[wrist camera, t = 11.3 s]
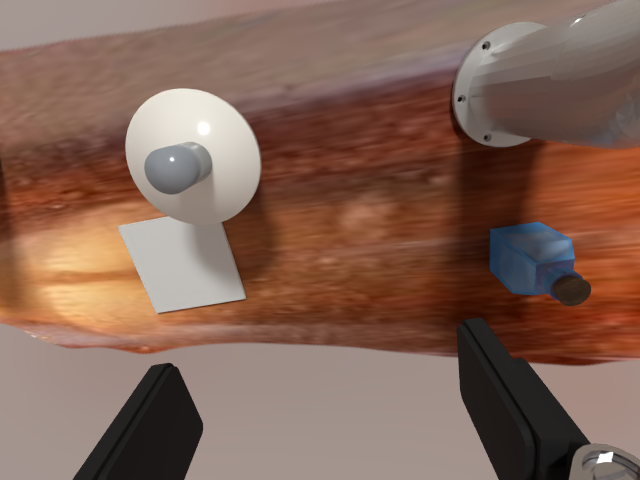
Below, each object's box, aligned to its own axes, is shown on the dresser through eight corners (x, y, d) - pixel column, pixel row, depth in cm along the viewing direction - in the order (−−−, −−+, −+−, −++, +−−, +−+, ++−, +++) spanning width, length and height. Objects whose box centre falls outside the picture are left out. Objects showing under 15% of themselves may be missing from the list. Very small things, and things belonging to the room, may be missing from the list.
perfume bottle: (489, 270, 46) (540, 322, 35) (490, 229, 44) (544, 270, 33) (536, 263, 45) (602, 314, 34) (538, 221, 43) (611, 261, 32)
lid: (241, 75, 28) (219, 67, 22) (275, 210, 32) (263, 232, 27) (110, 104, 29) (58, 103, 23) (159, 230, 33) (125, 255, 28)
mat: (217, 206, 44) (215, 208, 43) (246, 296, 49) (245, 298, 48) (119, 225, 45) (117, 226, 44) (157, 311, 50) (156, 313, 50)
